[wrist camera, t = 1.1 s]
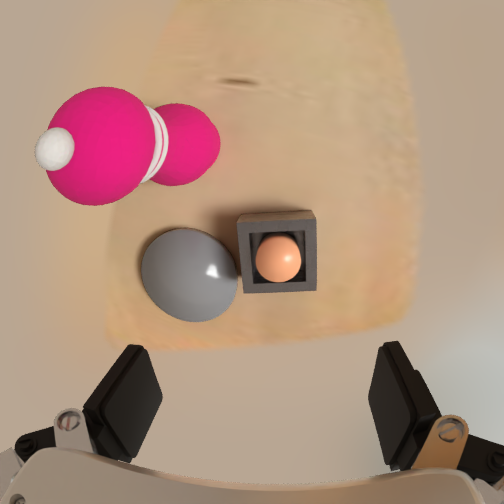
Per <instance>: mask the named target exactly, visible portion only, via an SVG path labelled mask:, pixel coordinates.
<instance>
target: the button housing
mask: <svg viewBox="0 0 504 504" xmlns="http://www.w3.org/2000/svg"><path fill="white" fill-rule="evenodd" d="M276 232H281V233H286V234H288V235H290V236H291V237H293V238H294V239H295V241H296V242H297V244H298V247H299V251H300V256H301V266H300V269H299V271H298V272H297V274H296V275H295V276H294V277H293V278H291V279H290V280H287V281H284V282H272V281H269V280H267V279H265V278H264V277H263V276H262V275H261V274H260V273H259V271H258V269H257V267H256V255H257V250H258V246H259V244H260V242H261V240H262V239H263V238H264V237H266V236H267V235H269V234H271V233H276ZM237 233H238V243H239V253H240V263H241V272H242V282H243V291H244V293H273V292H297V291H316V286H317V237H316V217H315V216H314V214H313V212H312V211H290V212H270V213H253V214H241V216H240V217H239V219H238V221H237Z"/></svg>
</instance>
